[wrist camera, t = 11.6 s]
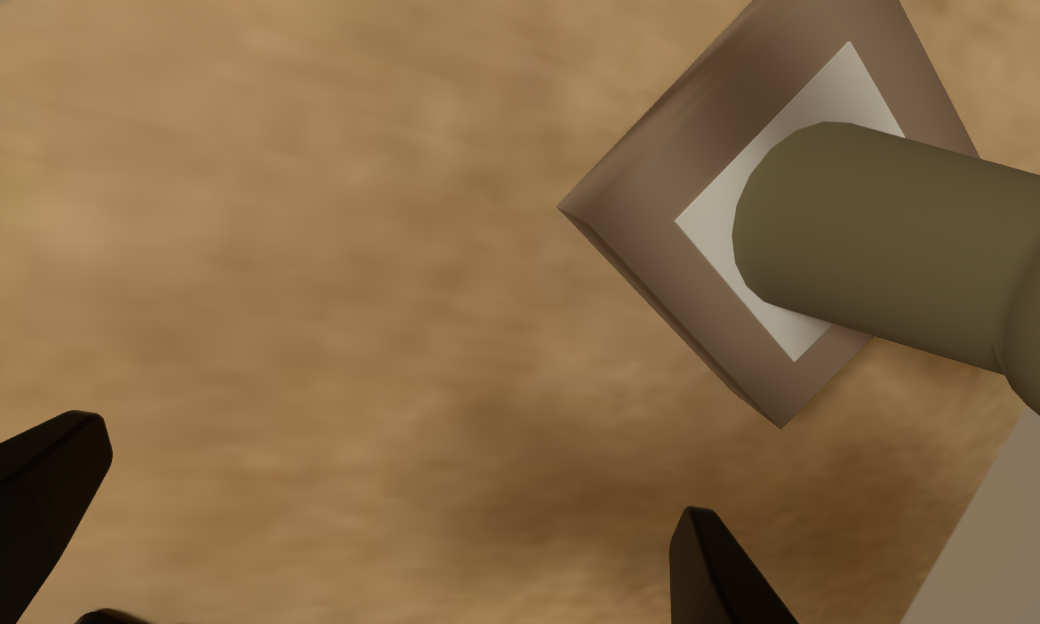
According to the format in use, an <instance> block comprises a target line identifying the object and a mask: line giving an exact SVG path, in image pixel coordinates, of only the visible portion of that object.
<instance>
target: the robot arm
mask: <svg viewBox="0 0 1040 624" xmlns="http://www.w3.org/2000/svg"><path fill="white" fill-rule="evenodd" d="M112 458H113V450H112V446H111V443H110V439H109V436H108V432H107V429H106V425H105V421H104V419H103V418H102V417H101V416H100V415H99V414H97V413H92V412H85V411H79V410H71V411H67V412H65V413H62V414H60V415H58V416H56V417H54V418H52V419H50V420H48V421H46V422H44V423H41V424H39V425H37V426H35V427H33V428H31V429H29V430H27V431H25V432H23V433H20V434H18V435H16V436H14V437H12V438H10V439H8V440H6V441H4V442H2V443H0V624H16V623H17V621H18V620H19V618H20V617H21V615H22V614H23V612H24V611H25V610H26V608H27V607H28V605H29V604H30V602H31V601H32V599H33V598H34V596H35V595H36V593H37V592H38V591H39V589H40V588H41V586H42V585H43V583H44V582H45V580H46V579H47V577H48V576H49V574H50V573H51V571H52V570H53V568H54V567H55V565H56V564H57V562H58V561H59V559H60V557H61V556H62V554H63V552H64V550H65V549H66V547H67V545H68V544H69V542H70V540H71V538H72V536H73V534H74V533H75V531H76V529H77V527H78V525H79V523H80V522H81V520H82V518H83V516H84V514H85V512H86V510H87V509H88V507H89V505H90V503H91V501H92V499H93V498H94V496H95V494H96V492H97V490H98V488H99V487H100V485H101V483H102V481H103V479H104V477H105V476H106V474H107V472H108V470H109V468H110V466H111V463H112ZM669 563H670V594H671V624H799V623H798V622H797V620H796V619H795V618H794V616H793V615H792V614H791V612H790V611H789V610H788V608H787V607H786V606H785V604H784V603H783V602H782V600H781V599H780V598H779V596H778V595H777V594H776V592H775V591H774V590H773V588H772V587H771V586H770V584H769V583H768V582H767V580H766V579H765V578H764V576H763V575H762V574H761V572H760V571H759V570H758V568H757V567H756V566H755V564H754V563H753V562H752V560H751V559H750V558H749V556H748V555H747V554H746V552H745V551H744V550H743V548H742V547H741V546H740V544H739V543H738V542H737V540H736V539H735V538H734V536H733V535H732V534H731V532H730V531H729V530H728V528H727V527H726V526H725V524H724V523H723V522H722V520H721V519H720V518H719V516H718V515H717V514H716V513H715V512H714V511H713V510H711V509H707V508H700V507H694V506H688V507H686V508H685V510H684V511H683V513H682V515H681V518H680V520H679V522H678V525H677V527H676V529H675V532H674V534H673V536H672V539H671V542H670V549H669ZM75 624H128V623H125V622H123V621H121V620H118V619H116V618H114V617H112V616H109V615H107V614H105V613H101V612H90V613H87V614H84V615H83V616H82V617H80V618H79V619H78V620H77V621H76V622H75Z"/></svg>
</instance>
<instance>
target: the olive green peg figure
mask: <svg viewBox="0 0 1040 624" xmlns="http://www.w3.org/2000/svg"><path fill="white" fill-rule="evenodd" d="M732 242H733V251H734V259H735V264H736V266H737V268H738V270H739V272H740V274H741V276H742V278H743V280H744V282H745V285H746V286H747V287H748V288H749V289H750V290H751V291H752V292H753V293H755V294H756V295H757V296H758V297H759V298H760V299H761V300H762V301H763V302H766V303H769V304H772V305H775V306H778V307H780V308H783V309H786V310H790V311H793V312H796V313H800V314H803V315H806V316H810V317H813V318H816V319H820V320H823V321H826V322H830V323H833V324H836V325H840V326H843V327H846V328H850V329H853V330H856V331H860V332H863V333H866V334H870V335H873V336H876V337H879V338H883V339H886V340H889V341H893V342H896V343H899V344H903V345H906V346H909V347H913V348H916V349H919V350H923V351H926V352H929V353H933V354H936V355H939V356H943V357H946V358H949V359H953V360H956V361H959V362H963V363H966V364H969V365H973V366H976V367H979V368H983V369H986V370H989V371H993V372H996V373H999V374H1003V375H1005V376H1006V378H1007V380H1008V382H1009V384H1010V386H1011V388H1012V389H1013V390H1014V391H1015V392H1016V394H1017V395H1018V396H1019V397H1020V398H1021V399H1022V400H1023V401H1024V402H1025V403H1026V405H1027V406H1028V407H1030V408H1031V409H1032V410H1034V411H1035V412H1036V413H1037V414H1038V415H1040V175H1037V174H1033V173H1029V172H1026V171H1022V170H1019V169H1015V168H1011V167H1008V166H1004V165H1001V164H997V163H993V162H990V161H986V160H983V159H979V158H975V157H972V156H968V155H965V154H961V153H957V152H954V151H950V150H946V149H943V148H939V147H936V146H932V145H928V144H925V143H921V142H918V141H914V140H910V139H907V138H903V137H900V136H896V135H892V134H889V133H885V132H882V131H878V130H874V129H871V128H867V127H863V126H860V125H856V124H853V123H846V122H826V121H823V122H820V123H817V124H814V125H811V126H808V127H805V128H802V129H799V130H796V131H795V132H793V133H792V134H791V135H789V136H788V137H786V138H785V139H784V140H782V141H781V142H779V143H778V144H777V145H775V146H774V147H773V148H771V149H770V150H769V152H768V153H767V154H766V155H765V157H764V158H763V159H762V160H761V162H760V163H759V164H758V165H757V167H756V168H755V169H754V170H753V172H752V173H751V174H750V176H749V178H748V180H747V183H746V185H745V187H744V189H743V192H742V194H741V196H740V198H739V200H738V203H737V206H736V212H735V218H734V224H733V230H732Z"/></svg>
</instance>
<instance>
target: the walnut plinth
mask: <svg viewBox="0 0 1040 624" xmlns="http://www.w3.org/2000/svg"><path fill="white" fill-rule="evenodd" d="M823 121H826V122H846V123H853V124H856V125H860V126H863V127H867V128H871V129H874V130H878V131H882V132H885V133H889V134H892V135H896V136H900V137H903V138H907V139H910V140H914V141H918V142H921V143H925V144H928V145H932V146H936V147H939V148H943V149H946V150H950V151H954V152H957V153H961V154H965V155H968V156H972V157H975V158H979V159H980V157H979V155H978V153H977V151H976V149H975V147H974V145H973V143H972V141H971V139H970V137H969V135H968V133H967V131H966V130H965V128H964V126H963V124H962V122H961V120H960V118H959V116H958V114H957V112H956V110H955V108H954V106H953V104H952V102H951V100H950V98H949V97H948V95H947V93H946V91H945V89H944V87H943V85H942V83H941V81H940V79H939V77H938V75H937V73H936V71H935V69H934V67H933V65H932V64H931V62H930V60H929V58H928V56H927V54H926V52H925V50H924V48H923V46H922V44H921V42H920V40H919V38H918V36H917V34H916V32H915V31H914V29H913V27H912V25H911V23H910V21H909V19H908V17H907V15H906V13H905V11H904V9H903V7H902V5H901V3H900V1H899V0H753V1H752V2H751V3H750V4H749V5H748V6H747V7H746V8H745V10H744V11H743V12H742V13H741V14H740V15H739V16H738V17H737V18H736V19H735V20H734V21H733V22H732V23H731V24H730V25H729V26H728V27H727V28H726V29H725V30H724V32H723V33H722V34H721V35H720V36H719V37H718V38H717V39H716V40H715V41H714V42H713V43H712V44H711V45H710V46H709V47H708V48H707V49H706V50H705V51H704V53H703V54H702V55H701V56H700V57H699V58H698V59H697V60H696V61H695V62H694V63H693V64H692V65H691V66H690V67H689V68H688V69H687V70H686V71H685V72H684V74H683V75H682V76H681V77H680V78H679V79H678V80H677V81H676V82H675V83H674V84H673V85H672V86H671V87H670V88H669V89H668V90H667V91H666V92H665V93H664V95H663V96H662V97H661V98H660V99H659V100H658V101H657V102H656V103H655V104H654V105H653V106H652V107H651V108H650V109H649V110H648V111H647V112H646V113H645V114H644V116H643V117H642V118H641V119H640V120H639V121H638V122H637V123H636V124H635V125H634V126H633V127H632V128H631V129H630V130H629V131H628V132H627V133H626V134H625V135H624V136H623V138H622V139H621V140H620V141H619V142H618V143H617V144H616V145H615V146H614V147H613V148H612V149H611V150H610V151H609V152H608V153H607V154H606V155H605V156H604V157H603V159H602V160H601V161H600V162H599V163H598V164H597V165H596V166H595V167H594V168H593V169H592V170H591V171H590V172H589V173H588V174H587V175H586V176H585V177H584V178H583V180H582V181H581V182H580V183H579V184H578V185H577V186H576V187H575V188H574V189H573V190H572V191H571V192H570V193H569V194H568V195H567V196H566V197H565V198H564V199H563V201H562V202H561V203H560V204H559V205H558V206H557V207H558V209H559V210H560V211H561V212H562V213H563V214H564V215H565V216H566V217H567V218H568V219H569V220H570V221H571V222H572V223H573V224H574V225H575V226H576V227H577V229H578V230H579V231H580V232H581V233H582V234H583V235H584V236H585V237H586V238H587V239H588V240H589V241H590V242H591V243H592V244H593V245H594V246H595V248H596V249H597V250H598V251H599V252H600V253H601V254H602V255H603V256H604V257H605V258H606V259H607V260H608V261H609V262H610V263H611V264H612V265H613V266H614V268H615V269H616V270H617V271H618V272H619V273H620V274H621V275H622V276H623V277H624V278H625V279H626V280H627V281H628V282H629V283H630V284H631V285H632V286H633V288H634V289H635V290H636V291H637V292H638V293H639V294H640V295H641V296H642V297H643V298H644V299H645V300H646V301H647V302H648V303H649V304H650V305H651V306H652V308H653V309H654V310H655V311H656V312H657V313H658V314H659V315H660V316H661V317H662V318H663V319H664V320H665V321H666V322H667V323H668V324H669V325H670V326H671V328H672V329H673V330H674V331H675V332H676V333H677V334H678V335H679V336H680V337H681V338H682V339H683V340H684V341H685V342H686V343H687V344H688V345H689V346H690V348H691V349H692V350H693V351H694V352H695V353H696V354H697V355H698V356H699V357H700V358H701V359H702V360H703V361H704V362H705V363H706V364H707V365H708V366H709V368H710V369H711V370H712V371H713V372H714V373H715V374H716V375H717V376H718V377H719V378H720V379H721V380H722V381H723V382H724V383H725V384H726V385H727V387H728V388H729V389H730V390H731V391H732V392H733V393H734V394H736V395H737V396H738V397H740V398H741V399H742V400H744V401H745V402H746V403H747V404H749V405H750V406H751V407H753V408H754V409H755V410H756V411H758V412H759V413H760V414H762V415H763V416H764V417H765V418H767V419H768V420H769V421H771V422H772V423H773V424H775V425H776V426H777V427H778V428H780V429H782V428H783V427H784V426H785V425H786V424H787V423H788V422H789V421H790V420H791V419H792V418H793V417H794V416H795V415H796V414H797V413H798V412H799V411H800V410H801V409H802V408H803V407H804V406H805V405H806V404H807V403H808V402H809V401H810V400H811V399H812V398H813V397H814V396H815V395H816V394H817V393H818V392H819V391H820V390H821V389H822V388H823V387H824V386H825V385H826V384H827V383H828V382H829V381H830V380H831V379H832V378H833V377H834V376H835V375H836V374H837V373H838V372H839V371H840V370H841V369H842V368H843V367H844V366H845V365H846V364H847V363H848V362H849V361H850V360H851V359H852V358H853V357H854V356H855V355H856V354H857V353H858V352H859V351H860V350H861V349H862V348H863V347H864V346H865V345H866V344H867V343H868V342H869V341H870V340H871V339H872V338H873V337H874V336H873V335H870V334H866V333H863V332H860V331H856V330H853V329H850V328H846V327H843V326H840V325H836V324H833V323H830V322H826V321H823V320H820V319H816V318H813V317H810V316H806V315H803V314H800V313H796V312H793V311H790V310H786V309H783V308H780V307H778V306H775V305H772V304H769V303H766V302H763V301H762V300H761V299H760V298H759V297H758V296H757V295H756V294H755V293H753V292H752V291H751V290H750V289H749V288H748V287H747V286H746V285H745V282H744V280H743V278H742V276H741V274H740V272H739V270H738V268H737V266H736V264H735V259H734V251H733V242H732V230H733V224H734V218H735V212H736V206H737V203H738V200H739V198H740V196H741V194H742V192H743V189H744V187H745V185H746V183H747V180H748V178H749V176H750V174H751V173H752V172H753V170H754V169H755V168H756V167H757V165H758V164H759V163H760V162H761V160H762V159H763V158H764V157H765V155H766V154H767V153H768V152H769V150H770V149H771V148H773V147H774V146H775V145H777V144H778V143H779V142H781V141H782V140H784V139H785V138H786V137H788V136H789V135H791V134H792V133H793V132H795V131H796V130H799V129H802V128H805V127H808V126H811V125H814V124H817V123H820V122H823Z"/></svg>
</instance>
